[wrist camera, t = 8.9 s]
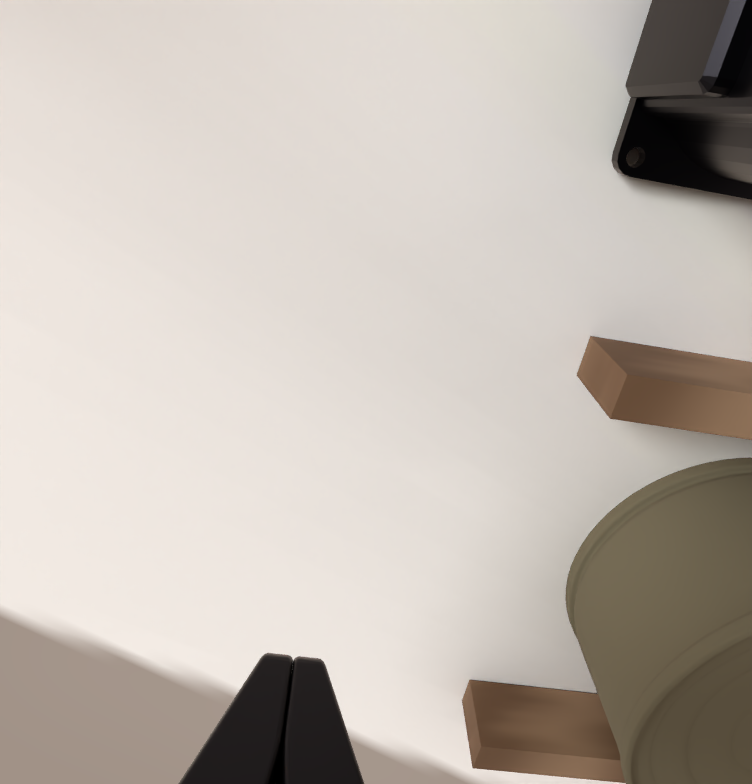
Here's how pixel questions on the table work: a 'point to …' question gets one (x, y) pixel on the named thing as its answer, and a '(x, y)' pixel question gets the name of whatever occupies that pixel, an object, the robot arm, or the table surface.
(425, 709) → the table surface
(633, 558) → the can
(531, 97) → the table surface
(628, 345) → the pocket
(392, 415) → the table surface
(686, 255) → the table surface
